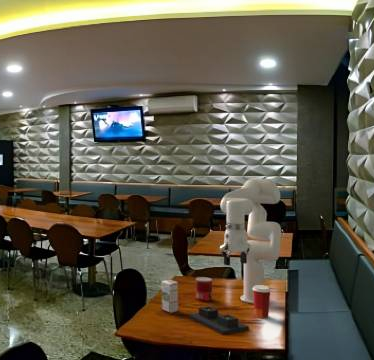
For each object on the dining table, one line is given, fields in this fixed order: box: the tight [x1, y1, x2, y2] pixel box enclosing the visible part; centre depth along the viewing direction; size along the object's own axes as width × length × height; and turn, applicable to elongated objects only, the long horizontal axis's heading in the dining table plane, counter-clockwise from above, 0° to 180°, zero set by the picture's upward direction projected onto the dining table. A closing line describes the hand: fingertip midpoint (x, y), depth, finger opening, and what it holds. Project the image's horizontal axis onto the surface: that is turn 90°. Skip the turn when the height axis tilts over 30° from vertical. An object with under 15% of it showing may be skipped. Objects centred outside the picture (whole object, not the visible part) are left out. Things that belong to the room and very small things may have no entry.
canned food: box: [195, 276, 213, 302], centre depth 235 cm, size 8×8×11 cm
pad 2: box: [217, 313, 239, 328], centre depth 195 cm, size 6×6×4 cm
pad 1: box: [198, 305, 219, 319], centre depth 206 cm, size 6×6×4 cm
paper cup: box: [253, 285, 272, 319], centre depth 209 cm, size 8×8×14 cm
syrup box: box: [161, 279, 179, 314], centre depth 219 cm, size 6×6×14 cm
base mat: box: [188, 309, 250, 336], centre depth 201 cm, size 14×22×4 cm, turn 21°
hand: (235, 263), depth 203 cm, fingers open, 9 cm apart
